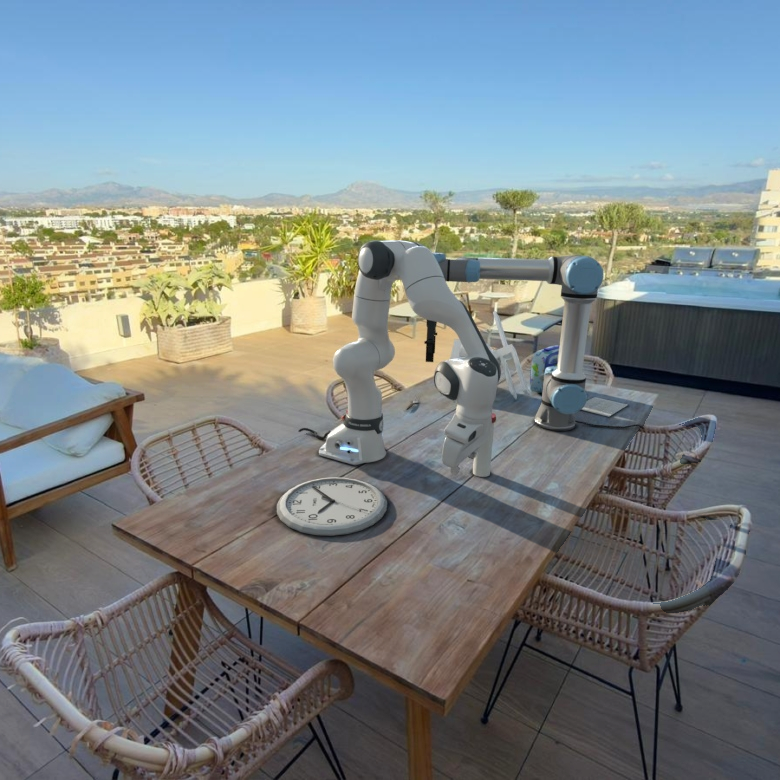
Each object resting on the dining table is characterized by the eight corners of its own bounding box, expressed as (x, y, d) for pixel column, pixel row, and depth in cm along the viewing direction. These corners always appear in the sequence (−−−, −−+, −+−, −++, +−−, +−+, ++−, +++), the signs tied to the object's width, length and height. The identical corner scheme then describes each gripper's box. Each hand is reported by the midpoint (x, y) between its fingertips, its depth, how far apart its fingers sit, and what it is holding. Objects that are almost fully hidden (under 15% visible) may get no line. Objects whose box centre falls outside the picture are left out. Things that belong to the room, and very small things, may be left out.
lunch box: (546, 398, 236) (551, 353, 229) (525, 393, 243) (529, 349, 237) (573, 387, 253) (579, 344, 247) (553, 382, 260) (558, 341, 254)
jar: (488, 478, 160) (493, 420, 154) (471, 475, 161) (475, 417, 156) (490, 470, 165) (495, 414, 159) (474, 468, 166) (478, 412, 161)
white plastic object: (461, 429, 252) (437, 405, 227) (444, 352, 274) (420, 323, 250) (535, 404, 240) (518, 377, 215) (510, 326, 262) (492, 293, 237)
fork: (403, 410, 217) (403, 406, 216) (415, 399, 231) (415, 395, 231) (409, 411, 216) (409, 406, 215) (420, 400, 230) (420, 395, 230)
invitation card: (608, 416, 214) (573, 407, 224) (608, 416, 214) (573, 408, 224) (628, 404, 229) (594, 396, 238) (628, 405, 229) (594, 397, 238)
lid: (494, 424, 154) (494, 419, 154) (473, 422, 156) (473, 416, 155) (496, 418, 160) (497, 412, 159) (476, 415, 162) (477, 410, 161)
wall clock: (392, 527, 129) (268, 531, 127) (391, 533, 130) (269, 537, 127) (383, 473, 158) (282, 475, 155) (383, 478, 158) (282, 480, 156)
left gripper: (479, 401, 141) (471, 444, 148) (440, 431, 126) (433, 477, 132) (501, 410, 138) (491, 453, 144) (463, 441, 123) (454, 488, 129)
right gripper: (424, 293, 195) (422, 349, 202) (419, 302, 172) (417, 365, 178) (444, 294, 195) (441, 350, 201) (442, 303, 171) (439, 366, 177)
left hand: (463, 465), depth 138 cm, fingers open, 8 cm apart
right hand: (430, 357), depth 190 cm, fingers open, 13 cm apart
